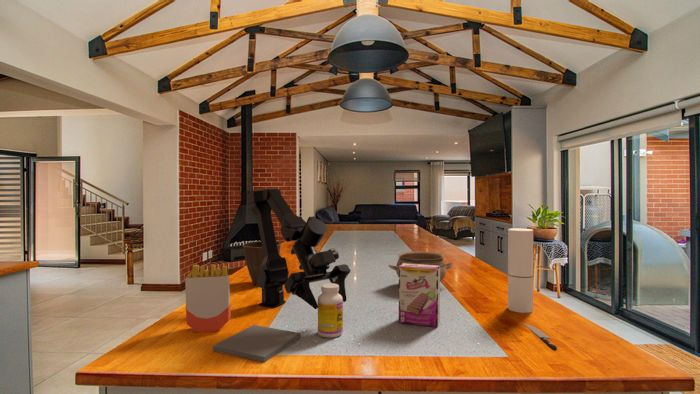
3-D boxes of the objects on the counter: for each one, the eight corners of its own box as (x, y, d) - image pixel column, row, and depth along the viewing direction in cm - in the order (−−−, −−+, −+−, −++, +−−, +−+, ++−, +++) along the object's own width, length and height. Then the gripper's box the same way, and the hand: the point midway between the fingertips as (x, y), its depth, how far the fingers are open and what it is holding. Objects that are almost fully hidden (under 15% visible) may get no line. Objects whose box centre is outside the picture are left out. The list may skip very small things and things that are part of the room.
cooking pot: (443, 279, 158) (443, 250, 157) (461, 292, 139) (461, 259, 139) (383, 282, 155) (383, 252, 155) (394, 295, 136) (394, 261, 136)
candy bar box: (398, 323, 108) (397, 266, 108) (401, 317, 113) (401, 262, 112) (438, 328, 104) (438, 268, 104) (440, 322, 109) (440, 264, 109)
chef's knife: (531, 323, 109) (521, 322, 109) (532, 319, 109) (521, 318, 109) (565, 352, 90) (552, 351, 90) (566, 347, 90) (553, 346, 90)
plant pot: (277, 288, 147) (276, 246, 146) (238, 288, 147) (237, 247, 147) (284, 278, 162) (283, 241, 161) (249, 279, 162) (248, 241, 162)
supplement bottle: (339, 339, 97) (339, 289, 97) (314, 337, 99) (314, 288, 98) (345, 329, 104) (345, 282, 104) (321, 328, 105) (321, 281, 105)
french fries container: (190, 327, 107) (189, 262, 106) (230, 324, 109) (229, 261, 108) (186, 333, 102) (185, 266, 102) (228, 330, 104) (227, 264, 104)
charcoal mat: (213, 350, 91) (212, 345, 91) (253, 329, 105) (253, 324, 105) (264, 362, 85) (264, 356, 85) (300, 337, 99) (300, 333, 99)
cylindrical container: (532, 307, 122) (533, 228, 121) (533, 314, 115) (533, 231, 114) (508, 304, 125) (508, 227, 124) (507, 311, 118) (507, 230, 117)
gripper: (289, 242, 99) (313, 294, 90) (346, 236, 110) (372, 281, 102) (275, 268, 105) (296, 318, 97) (330, 259, 117) (353, 303, 108)
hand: (331, 304), depth 101 cm, fingers open, 9 cm apart
